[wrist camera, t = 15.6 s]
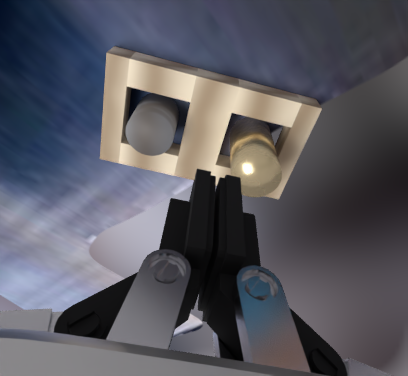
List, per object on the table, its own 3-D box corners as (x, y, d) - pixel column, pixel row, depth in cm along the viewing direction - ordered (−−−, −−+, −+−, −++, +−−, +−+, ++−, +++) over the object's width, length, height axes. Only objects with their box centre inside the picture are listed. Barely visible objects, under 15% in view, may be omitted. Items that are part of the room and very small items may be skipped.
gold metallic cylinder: (276, 122, 34) (289, 161, 27) (262, 157, 36) (271, 201, 30) (236, 112, 33) (239, 149, 27) (224, 148, 36) (225, 191, 29)
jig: (315, 99, 32) (329, 119, 28) (275, 186, 38) (281, 213, 34) (114, 46, 30) (97, 60, 26) (106, 147, 36) (92, 171, 32)
